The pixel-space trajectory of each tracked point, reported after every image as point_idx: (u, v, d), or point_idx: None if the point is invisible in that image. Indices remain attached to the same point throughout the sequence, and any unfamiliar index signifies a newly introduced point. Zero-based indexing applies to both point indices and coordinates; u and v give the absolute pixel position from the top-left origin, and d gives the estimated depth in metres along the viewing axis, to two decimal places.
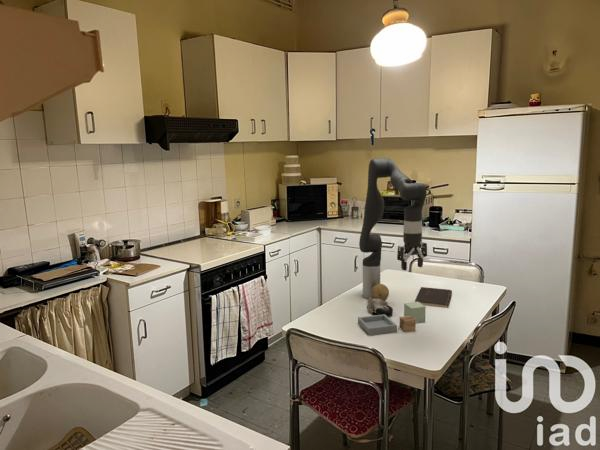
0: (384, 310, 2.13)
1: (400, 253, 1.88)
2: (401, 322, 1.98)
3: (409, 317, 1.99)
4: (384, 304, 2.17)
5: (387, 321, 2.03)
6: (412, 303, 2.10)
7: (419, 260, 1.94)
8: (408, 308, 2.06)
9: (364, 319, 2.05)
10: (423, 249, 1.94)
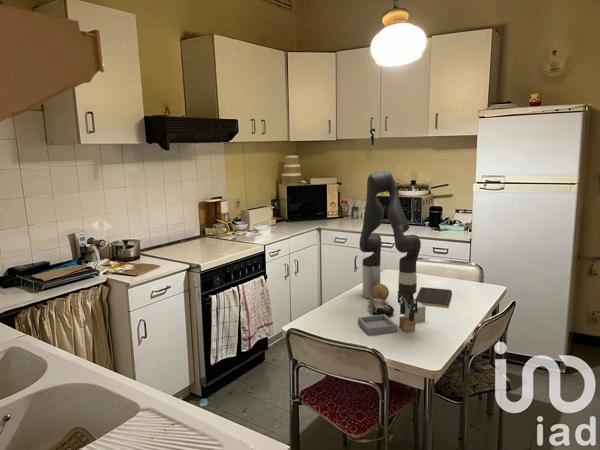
0: (385, 310, 2.13)
1: (416, 305, 1.89)
2: (401, 322, 1.98)
3: None
4: (385, 304, 2.17)
5: (387, 321, 2.03)
6: None
7: (403, 307, 2.01)
8: None
9: (364, 319, 2.05)
10: (402, 296, 2.02)
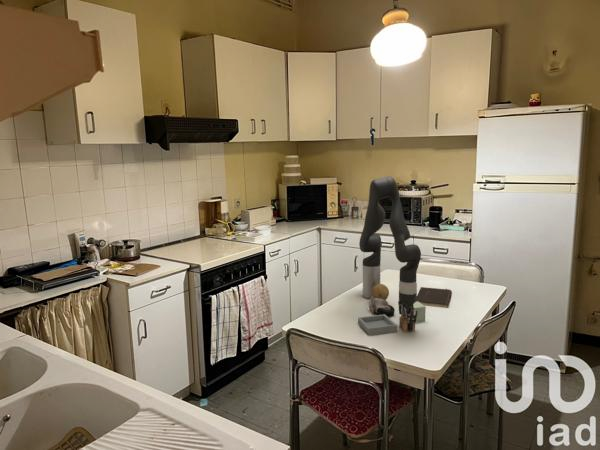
0: (385, 310, 2.13)
1: (415, 316, 1.91)
2: (401, 321, 1.98)
3: (409, 317, 1.99)
4: (386, 304, 2.17)
5: (387, 321, 2.03)
6: None
7: None
8: None
9: (364, 319, 2.05)
10: None
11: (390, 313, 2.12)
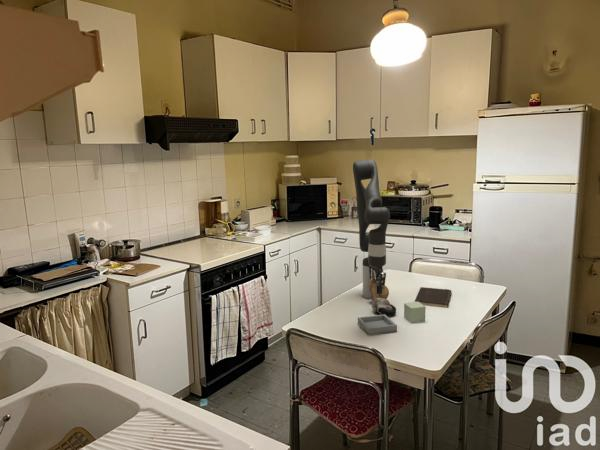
0: (386, 310, 2.13)
1: (384, 279, 1.91)
2: (371, 285, 1.97)
3: None
4: (388, 304, 2.17)
5: (387, 321, 2.03)
6: (412, 303, 2.10)
7: None
8: (408, 308, 2.06)
9: (364, 319, 2.05)
10: None
11: (391, 313, 2.12)
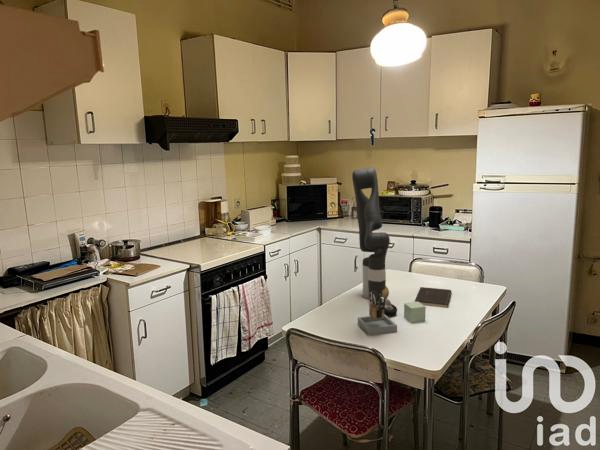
0: (387, 310, 2.13)
1: (383, 303, 1.93)
2: (371, 309, 1.99)
3: (378, 304, 2.00)
4: (389, 304, 2.17)
5: (387, 321, 2.03)
6: (412, 303, 2.10)
7: None
8: (408, 308, 2.06)
9: (364, 319, 2.05)
10: None
11: (392, 313, 2.12)
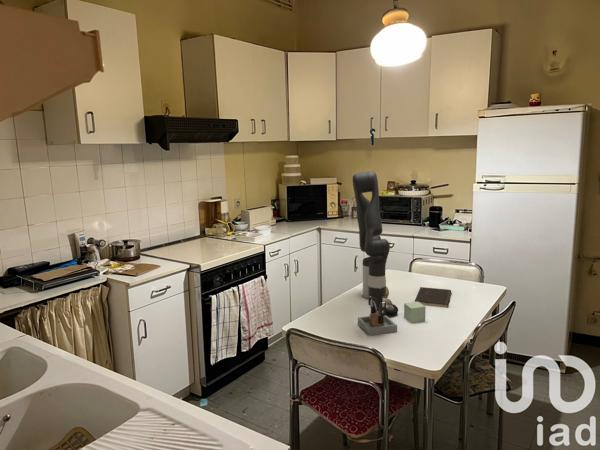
0: (388, 309, 2.13)
1: (384, 308, 1.92)
2: (371, 319, 2.00)
3: None
4: (390, 304, 2.17)
5: (387, 321, 2.03)
6: (412, 303, 2.10)
7: (373, 310, 2.03)
8: (408, 308, 2.06)
9: (364, 319, 2.05)
10: None
11: (392, 313, 2.12)
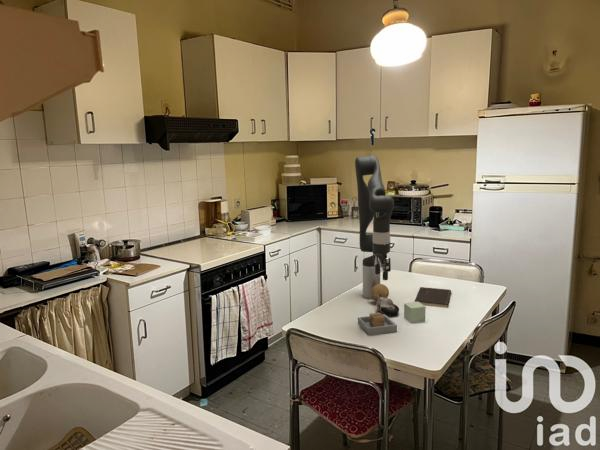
0: (388, 309, 2.13)
1: (389, 264, 1.93)
2: (371, 319, 2.00)
3: (379, 314, 2.01)
4: (391, 304, 2.17)
5: (387, 321, 2.03)
6: (412, 303, 2.10)
7: (378, 268, 2.04)
8: (408, 308, 2.06)
9: (364, 319, 2.05)
10: None
11: (393, 313, 2.12)
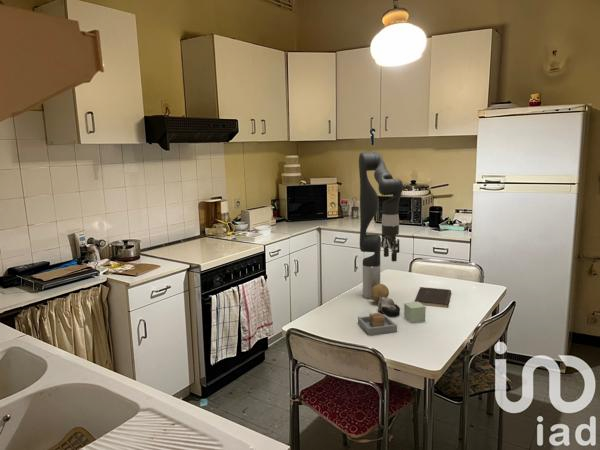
0: (389, 309, 2.13)
1: (398, 245, 1.99)
2: (371, 319, 2.00)
3: (379, 314, 2.01)
4: (392, 304, 2.17)
5: (387, 321, 2.03)
6: (412, 303, 2.10)
7: (386, 250, 2.10)
8: (408, 308, 2.06)
9: (364, 319, 2.05)
10: None
11: (393, 313, 2.12)
